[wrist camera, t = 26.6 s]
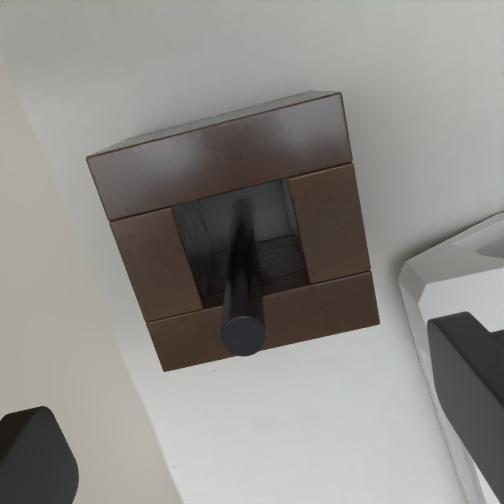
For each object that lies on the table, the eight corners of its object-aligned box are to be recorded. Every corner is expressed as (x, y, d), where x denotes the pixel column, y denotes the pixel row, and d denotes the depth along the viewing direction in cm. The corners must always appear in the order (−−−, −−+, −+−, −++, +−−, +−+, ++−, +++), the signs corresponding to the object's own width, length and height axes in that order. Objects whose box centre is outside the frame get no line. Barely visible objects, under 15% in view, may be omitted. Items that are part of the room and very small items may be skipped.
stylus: (228, 204, 25) (210, 334, 12) (244, 190, 25) (246, 307, 12) (242, 220, 25) (240, 365, 12) (258, 206, 25) (275, 339, 12)
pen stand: (128, 137, 24) (84, 157, 17) (313, 90, 23) (341, 91, 16) (183, 303, 27) (163, 373, 20) (346, 265, 26) (380, 324, 20)
